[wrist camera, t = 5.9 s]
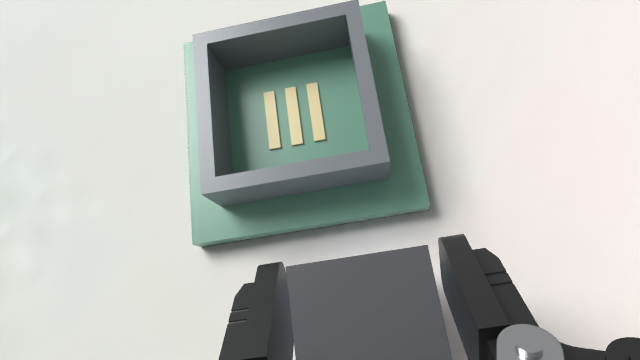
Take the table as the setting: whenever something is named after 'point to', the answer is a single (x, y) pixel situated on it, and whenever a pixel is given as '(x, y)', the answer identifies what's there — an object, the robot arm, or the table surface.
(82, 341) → the table surface
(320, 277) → the block
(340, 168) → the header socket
